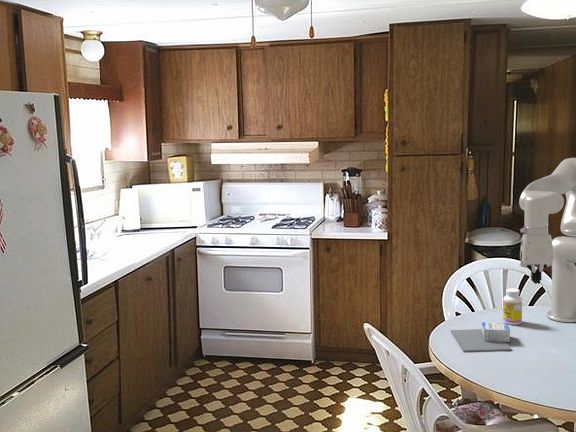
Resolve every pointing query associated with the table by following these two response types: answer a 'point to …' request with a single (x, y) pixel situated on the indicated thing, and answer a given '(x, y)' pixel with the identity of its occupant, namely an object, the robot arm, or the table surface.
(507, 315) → the supplement bottle
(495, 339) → the medicine box
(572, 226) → the robot arm
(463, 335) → the mat
